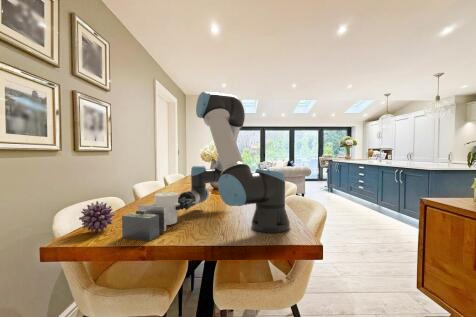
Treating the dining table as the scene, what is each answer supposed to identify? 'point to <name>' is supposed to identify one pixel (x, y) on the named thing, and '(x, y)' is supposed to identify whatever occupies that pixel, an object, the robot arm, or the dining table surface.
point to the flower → (96, 216)
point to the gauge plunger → (154, 213)
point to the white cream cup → (167, 204)
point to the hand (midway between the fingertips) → (159, 209)
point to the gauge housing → (140, 226)
